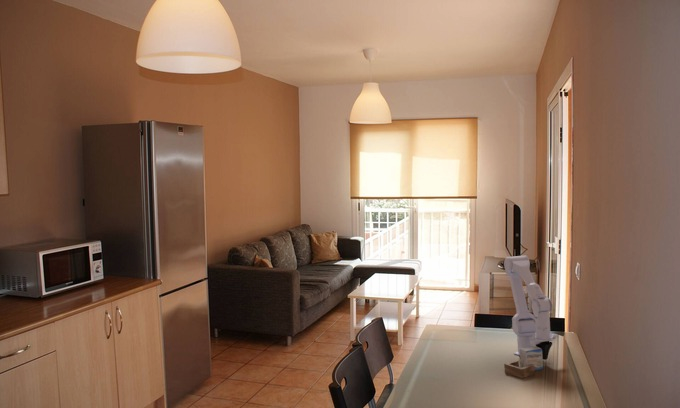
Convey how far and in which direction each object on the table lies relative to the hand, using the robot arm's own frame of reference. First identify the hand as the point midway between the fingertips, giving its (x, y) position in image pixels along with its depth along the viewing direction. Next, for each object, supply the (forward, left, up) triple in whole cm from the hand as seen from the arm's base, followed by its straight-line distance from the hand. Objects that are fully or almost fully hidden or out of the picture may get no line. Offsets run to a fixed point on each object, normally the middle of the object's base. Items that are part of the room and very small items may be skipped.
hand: (544, 359), depth 227 cm
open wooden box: (+15, 0, -2) cm, 15 cm away
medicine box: (+8, 0, -3) cm, 9 cm away
